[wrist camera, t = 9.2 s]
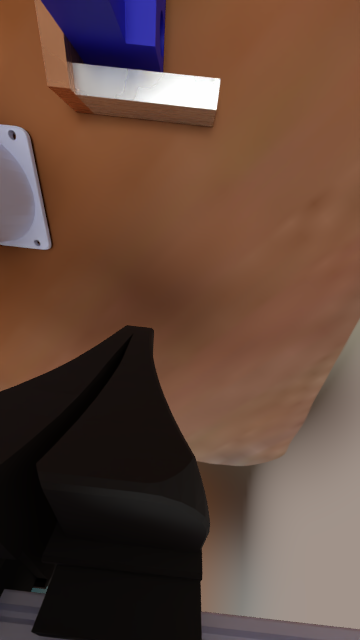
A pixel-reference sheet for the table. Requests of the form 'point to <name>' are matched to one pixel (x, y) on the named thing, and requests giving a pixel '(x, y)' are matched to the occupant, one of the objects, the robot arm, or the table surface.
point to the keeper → (122, 84)
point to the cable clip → (114, 31)
